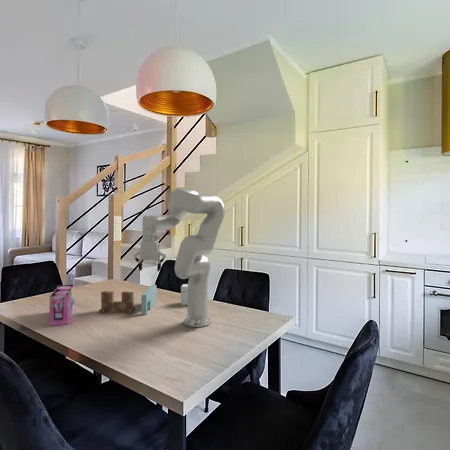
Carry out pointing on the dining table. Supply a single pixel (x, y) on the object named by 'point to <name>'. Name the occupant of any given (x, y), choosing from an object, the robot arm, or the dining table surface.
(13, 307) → the dining table surface
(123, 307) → the notched wall
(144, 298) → the notched board
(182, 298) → the small box
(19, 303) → the dining table surface
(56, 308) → the gum box
